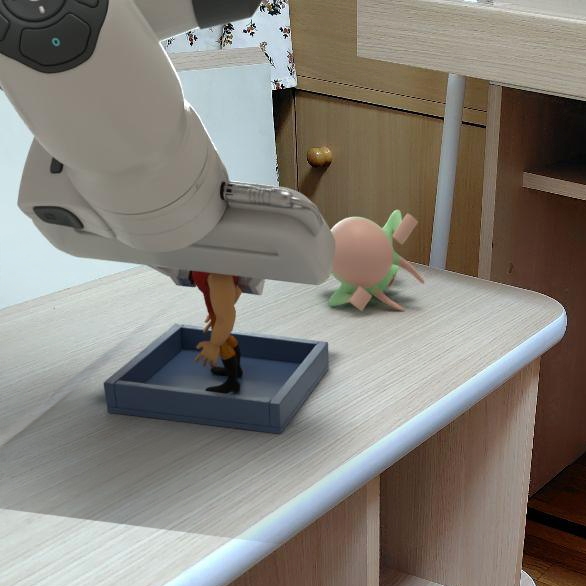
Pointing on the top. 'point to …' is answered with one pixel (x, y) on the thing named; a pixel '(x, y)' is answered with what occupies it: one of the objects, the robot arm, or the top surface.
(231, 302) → the action figure
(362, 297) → the pink green toy creature
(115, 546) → the top surface
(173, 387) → the blue tray
